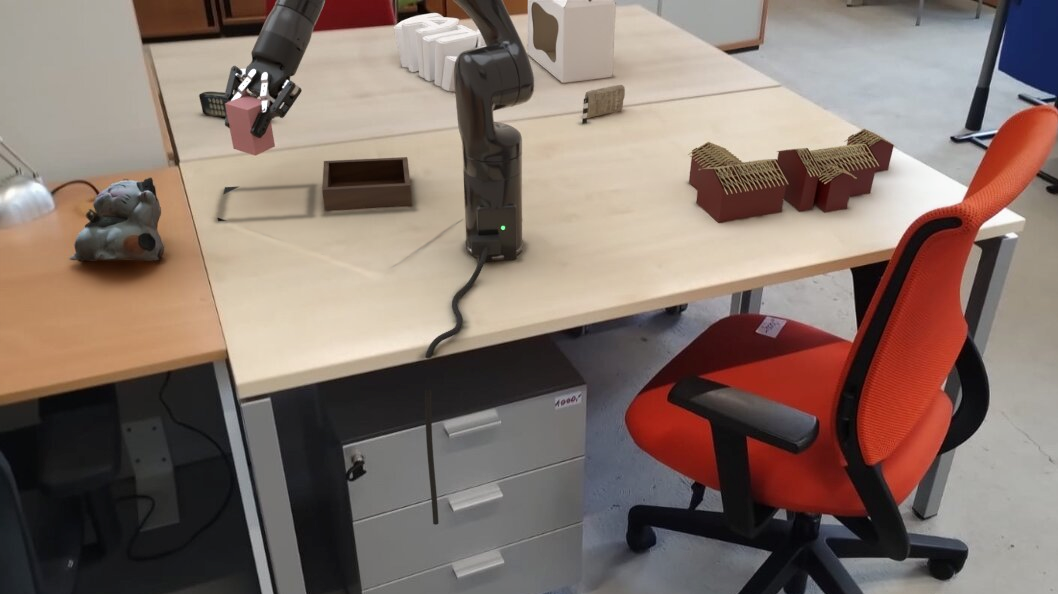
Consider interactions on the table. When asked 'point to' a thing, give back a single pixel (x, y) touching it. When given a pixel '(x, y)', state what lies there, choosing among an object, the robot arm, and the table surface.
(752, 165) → the toy houses
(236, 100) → the block
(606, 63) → the gable box
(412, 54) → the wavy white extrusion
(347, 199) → the crate
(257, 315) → the table surface
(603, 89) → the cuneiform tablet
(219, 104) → the mobile phone
